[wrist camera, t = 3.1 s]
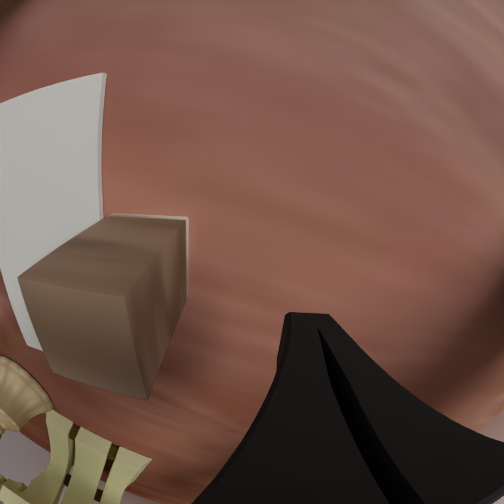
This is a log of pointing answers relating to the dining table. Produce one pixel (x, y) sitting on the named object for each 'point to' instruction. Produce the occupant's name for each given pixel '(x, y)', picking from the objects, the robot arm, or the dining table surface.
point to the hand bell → (19, 397)
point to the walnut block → (111, 300)
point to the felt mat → (48, 177)
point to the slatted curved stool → (76, 469)
